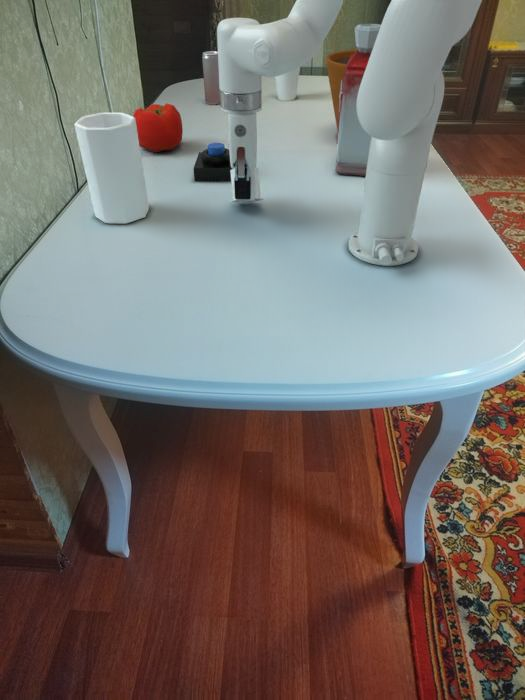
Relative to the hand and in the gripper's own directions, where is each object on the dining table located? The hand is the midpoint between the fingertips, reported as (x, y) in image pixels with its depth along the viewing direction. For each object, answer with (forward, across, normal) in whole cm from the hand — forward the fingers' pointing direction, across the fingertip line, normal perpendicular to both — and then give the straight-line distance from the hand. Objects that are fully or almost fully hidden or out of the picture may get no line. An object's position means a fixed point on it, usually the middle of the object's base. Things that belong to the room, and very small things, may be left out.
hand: (242, 197), depth 103 cm
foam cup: (+4, +94, -12) cm, 95 cm away
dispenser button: (-1, +24, +7) cm, 25 cm away
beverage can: (+5, +89, +13) cm, 90 cm away
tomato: (+4, +42, +24) cm, 48 cm away
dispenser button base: (+4, +24, +7) cm, 25 cm away
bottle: (+4, +28, -27) cm, 39 cm away
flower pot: (+4, +51, -33) cm, 61 cm away
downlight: (+2, +2, -1) cm, 3 cm away
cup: (+4, +1, +25) cm, 26 cm away
